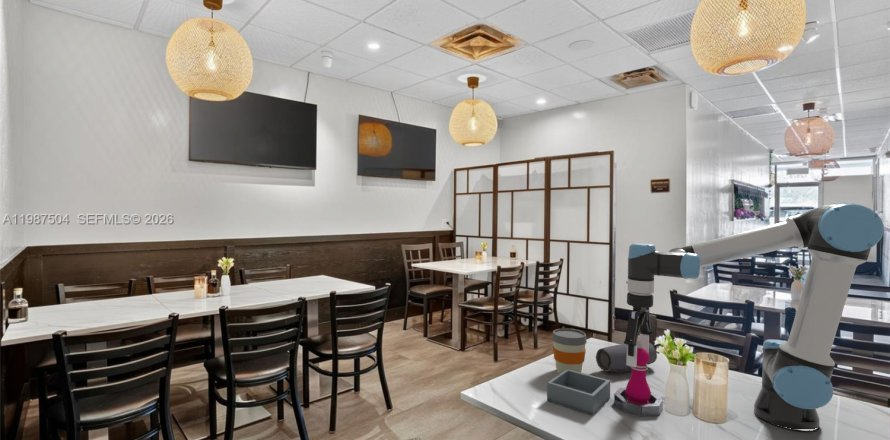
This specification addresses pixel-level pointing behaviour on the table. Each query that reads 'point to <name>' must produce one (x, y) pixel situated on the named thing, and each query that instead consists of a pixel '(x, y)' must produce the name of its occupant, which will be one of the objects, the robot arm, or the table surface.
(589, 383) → the bin
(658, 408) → the collar
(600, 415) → the table surface
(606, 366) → the bluetooth speaker
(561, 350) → the reusable coffee cup
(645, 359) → the pepper mill
